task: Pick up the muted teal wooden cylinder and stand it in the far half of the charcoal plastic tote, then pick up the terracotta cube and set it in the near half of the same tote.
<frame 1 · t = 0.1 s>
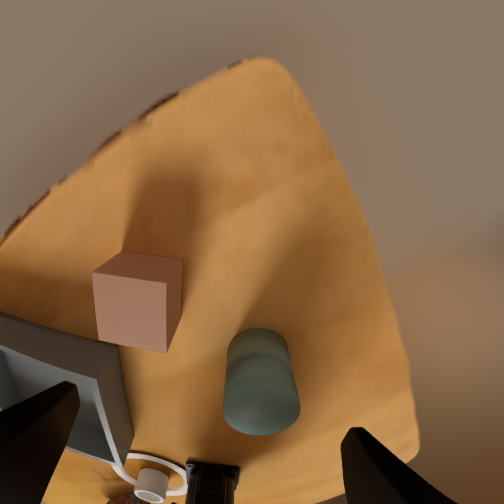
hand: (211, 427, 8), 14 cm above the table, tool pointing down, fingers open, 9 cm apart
tin: (129, 498, 33), on the table
cube: (150, 285, 22), on the table
candle holder: (154, 471, 30), on the table
cylinder: (257, 353, 24), on the table
tote: (57, 377, 25), on the table
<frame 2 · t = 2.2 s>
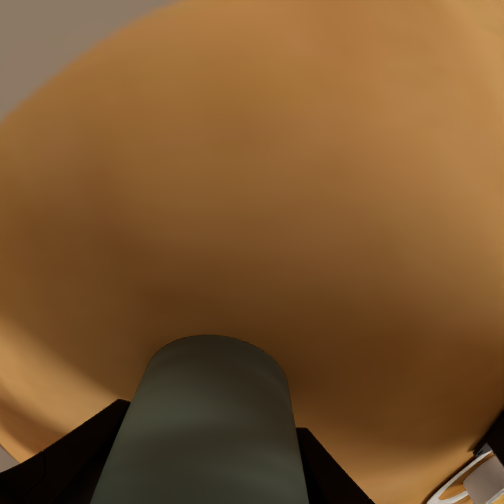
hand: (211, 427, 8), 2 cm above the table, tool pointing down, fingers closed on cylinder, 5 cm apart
candle holder: (477, 467, 14), on the table
cylinder: (215, 394, 9), on the table, touching gripper
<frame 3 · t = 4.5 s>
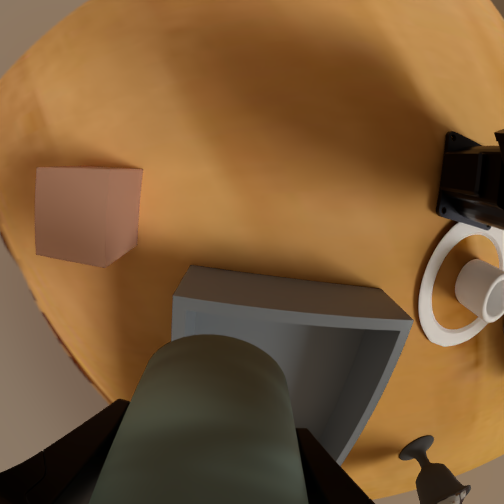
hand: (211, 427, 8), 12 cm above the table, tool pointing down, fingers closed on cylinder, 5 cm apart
cube: (106, 204, 18), on the table
candle holder: (466, 280, 20), on the table
cylinder: (214, 394, 9), point 11 cm above the table, touching gripper
sundae: (415, 447, 26), on the table
tote: (269, 380, 22), on the table
when the fingers open (4 cm above the table, at t = 7.2 s): cylinder drops 2 cm, resting on tote.
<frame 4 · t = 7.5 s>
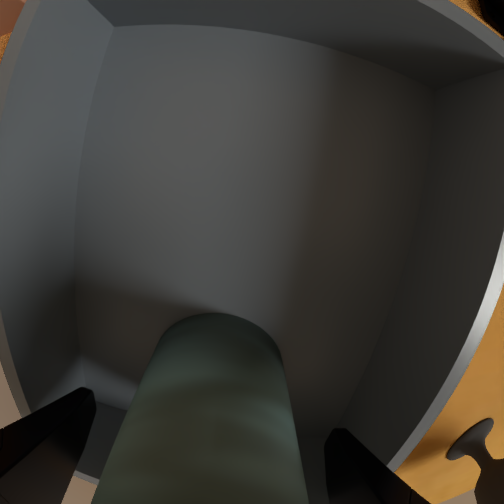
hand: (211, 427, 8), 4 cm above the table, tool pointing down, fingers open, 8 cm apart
cylinder: (217, 369, 11), point 1 cm above the table, touching tote
sundae: (469, 438, 15), on the table
tote: (236, 262, 10), on the table
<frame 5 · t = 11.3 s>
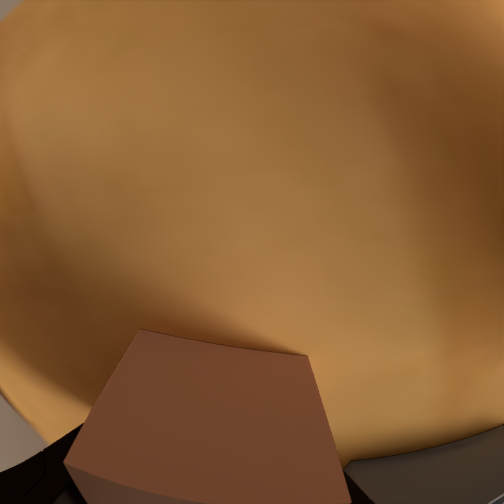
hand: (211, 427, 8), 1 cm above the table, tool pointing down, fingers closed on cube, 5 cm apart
cube: (213, 404, 9), on the table, touching gripper
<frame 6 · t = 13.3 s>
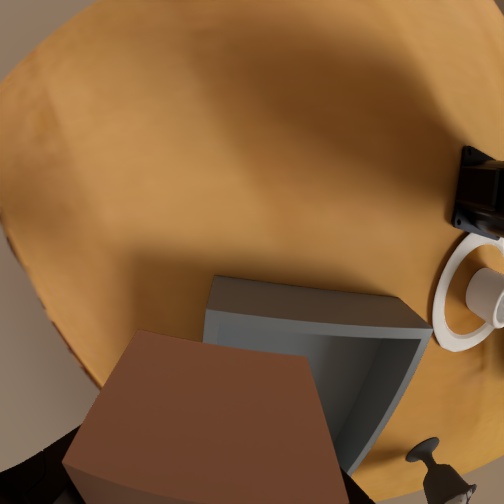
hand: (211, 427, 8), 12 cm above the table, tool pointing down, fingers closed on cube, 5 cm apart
cube: (212, 404, 9), point 11 cm above the table, touching gripper
candle holder: (475, 288, 21), on the table
sundae: (421, 448, 26), on the table
tote: (288, 388, 21), on the table
when the fingers open (3 cm above the table, at t = 15.8 s): cube drops 1 cm, resting on tote.
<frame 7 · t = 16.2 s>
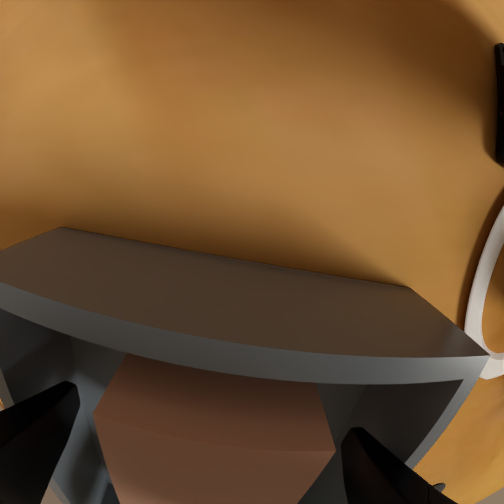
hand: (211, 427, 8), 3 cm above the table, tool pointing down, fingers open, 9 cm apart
cube: (216, 379, 10), point 1 cm above the table, touching tote
sundae: (421, 496, 17), on the table
tote: (207, 432, 12), on the table
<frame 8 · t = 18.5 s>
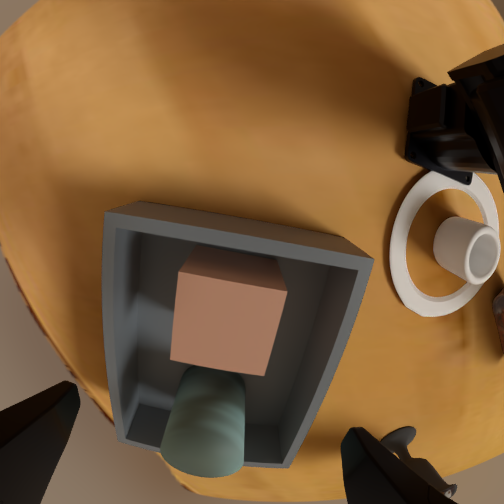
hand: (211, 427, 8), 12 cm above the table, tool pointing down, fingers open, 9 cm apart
cube: (229, 289, 19), point 1 cm above the table, touching tote
candle holder: (446, 241, 19), on the table
cylinder: (212, 387, 21), point 1 cm above the table, touching tote
sundae: (395, 439, 25), on the table
tote: (220, 338, 20), on the table
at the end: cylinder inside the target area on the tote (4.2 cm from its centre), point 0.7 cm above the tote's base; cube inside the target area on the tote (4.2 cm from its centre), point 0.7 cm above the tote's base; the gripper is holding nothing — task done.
